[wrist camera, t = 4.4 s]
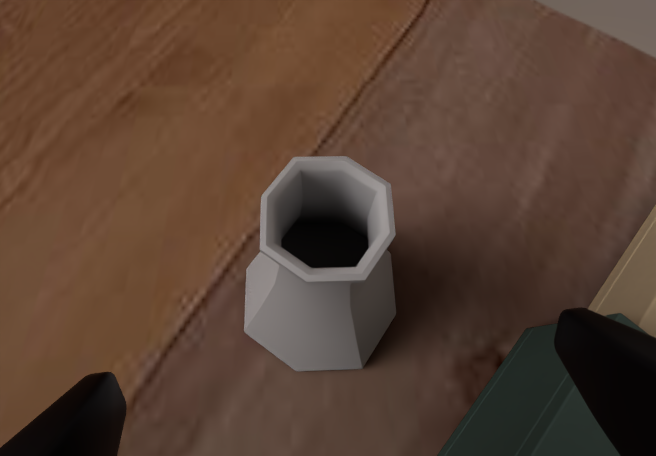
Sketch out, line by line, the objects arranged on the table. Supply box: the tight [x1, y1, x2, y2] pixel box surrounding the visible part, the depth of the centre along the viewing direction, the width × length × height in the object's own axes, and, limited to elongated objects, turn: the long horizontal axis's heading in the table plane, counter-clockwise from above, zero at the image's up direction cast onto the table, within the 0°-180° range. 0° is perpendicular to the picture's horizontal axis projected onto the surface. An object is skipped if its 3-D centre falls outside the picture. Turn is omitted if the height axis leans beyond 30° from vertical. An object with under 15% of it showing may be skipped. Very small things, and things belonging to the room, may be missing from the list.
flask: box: [244, 156, 396, 371], centre depth 14 cm, size 7×7×10 cm
